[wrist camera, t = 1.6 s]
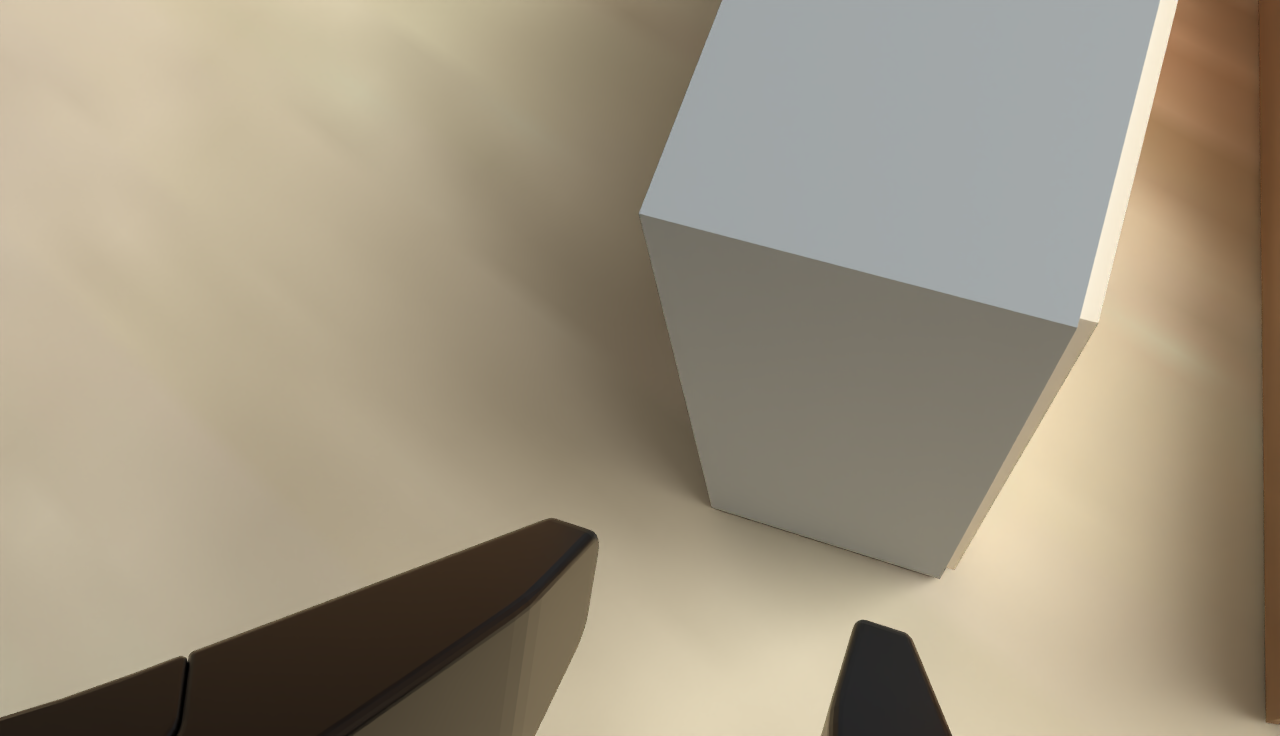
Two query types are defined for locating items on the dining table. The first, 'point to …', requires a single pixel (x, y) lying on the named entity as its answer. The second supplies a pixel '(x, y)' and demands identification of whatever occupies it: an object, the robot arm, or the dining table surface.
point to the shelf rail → (1271, 337)
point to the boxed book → (892, 249)
